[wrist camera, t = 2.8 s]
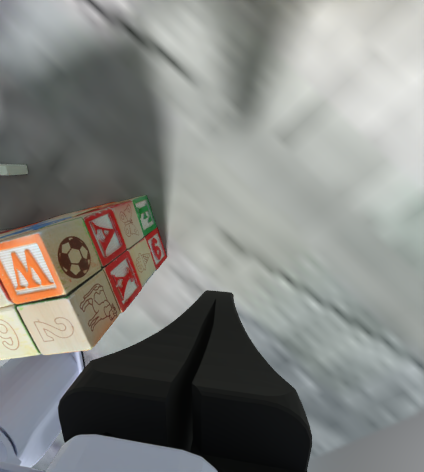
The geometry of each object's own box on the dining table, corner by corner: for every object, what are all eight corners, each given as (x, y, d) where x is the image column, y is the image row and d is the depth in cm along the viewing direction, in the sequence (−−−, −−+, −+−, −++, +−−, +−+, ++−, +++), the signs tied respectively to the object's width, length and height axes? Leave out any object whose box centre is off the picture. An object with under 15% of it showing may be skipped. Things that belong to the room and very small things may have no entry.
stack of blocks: (-6, 291, 28) (-184, 385, 17) (-34, 239, 27) (-254, 304, 15) (169, 257, 24) (91, 354, 12) (148, 192, 22) (34, 233, 10)
